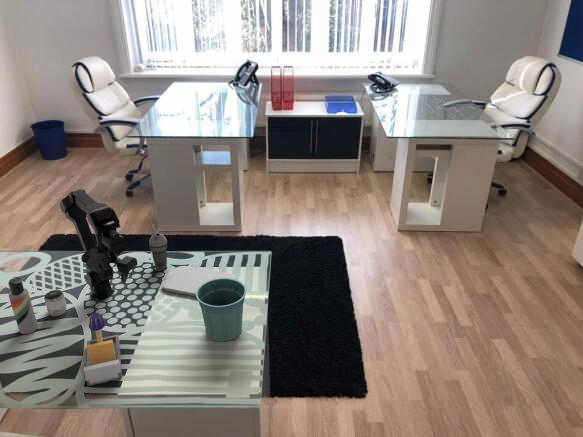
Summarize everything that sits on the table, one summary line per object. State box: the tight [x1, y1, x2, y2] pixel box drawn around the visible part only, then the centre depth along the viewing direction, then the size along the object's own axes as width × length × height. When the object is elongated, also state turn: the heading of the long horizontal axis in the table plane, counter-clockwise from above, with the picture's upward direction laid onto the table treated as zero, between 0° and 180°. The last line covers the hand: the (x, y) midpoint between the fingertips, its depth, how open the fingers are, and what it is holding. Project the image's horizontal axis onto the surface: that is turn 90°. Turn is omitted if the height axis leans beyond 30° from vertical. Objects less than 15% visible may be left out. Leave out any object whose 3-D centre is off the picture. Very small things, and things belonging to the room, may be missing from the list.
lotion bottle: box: [7, 277, 39, 335], centre depth 158 cm, size 6×6×20 cm
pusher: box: [86, 340, 116, 366], centre depth 145 cm, size 1×7×8 cm, turn 111°
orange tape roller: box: [83, 334, 123, 387], centre depth 148 cm, size 18×10×6 cm, turn 20°
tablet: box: [162, 265, 237, 297], centre depth 187 cm, size 16×26×2 cm, turn 75°
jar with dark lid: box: [43, 289, 67, 317], centre depth 169 cm, size 6×6×8 cm
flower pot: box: [195, 278, 247, 342], centre depth 160 cm, size 16×16×16 cm
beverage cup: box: [148, 224, 168, 271], centre depth 193 cm, size 7×7×20 cm
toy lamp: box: [88, 312, 106, 343], centre depth 146 cm, size 5×5×17 cm
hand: (113, 280), depth 166 cm, fingers open, 9 cm apart
